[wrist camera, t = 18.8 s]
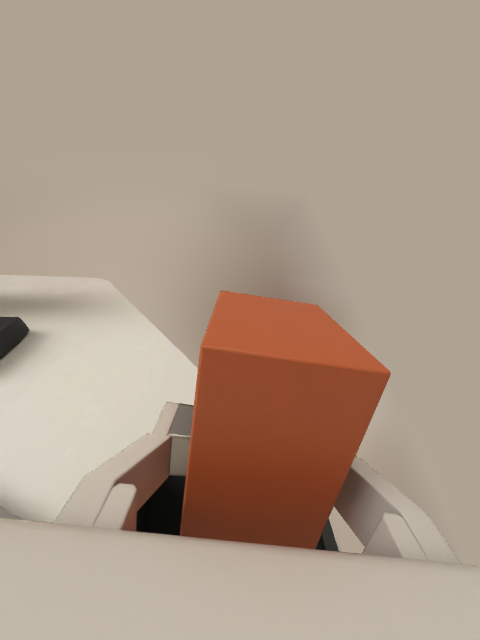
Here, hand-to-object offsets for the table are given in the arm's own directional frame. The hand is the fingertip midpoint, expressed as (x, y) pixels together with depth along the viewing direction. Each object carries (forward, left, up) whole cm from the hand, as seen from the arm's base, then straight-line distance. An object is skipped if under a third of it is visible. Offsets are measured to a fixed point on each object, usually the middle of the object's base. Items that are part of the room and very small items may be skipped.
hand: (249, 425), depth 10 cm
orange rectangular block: (0, +1, -6) cm, 6 cm away
